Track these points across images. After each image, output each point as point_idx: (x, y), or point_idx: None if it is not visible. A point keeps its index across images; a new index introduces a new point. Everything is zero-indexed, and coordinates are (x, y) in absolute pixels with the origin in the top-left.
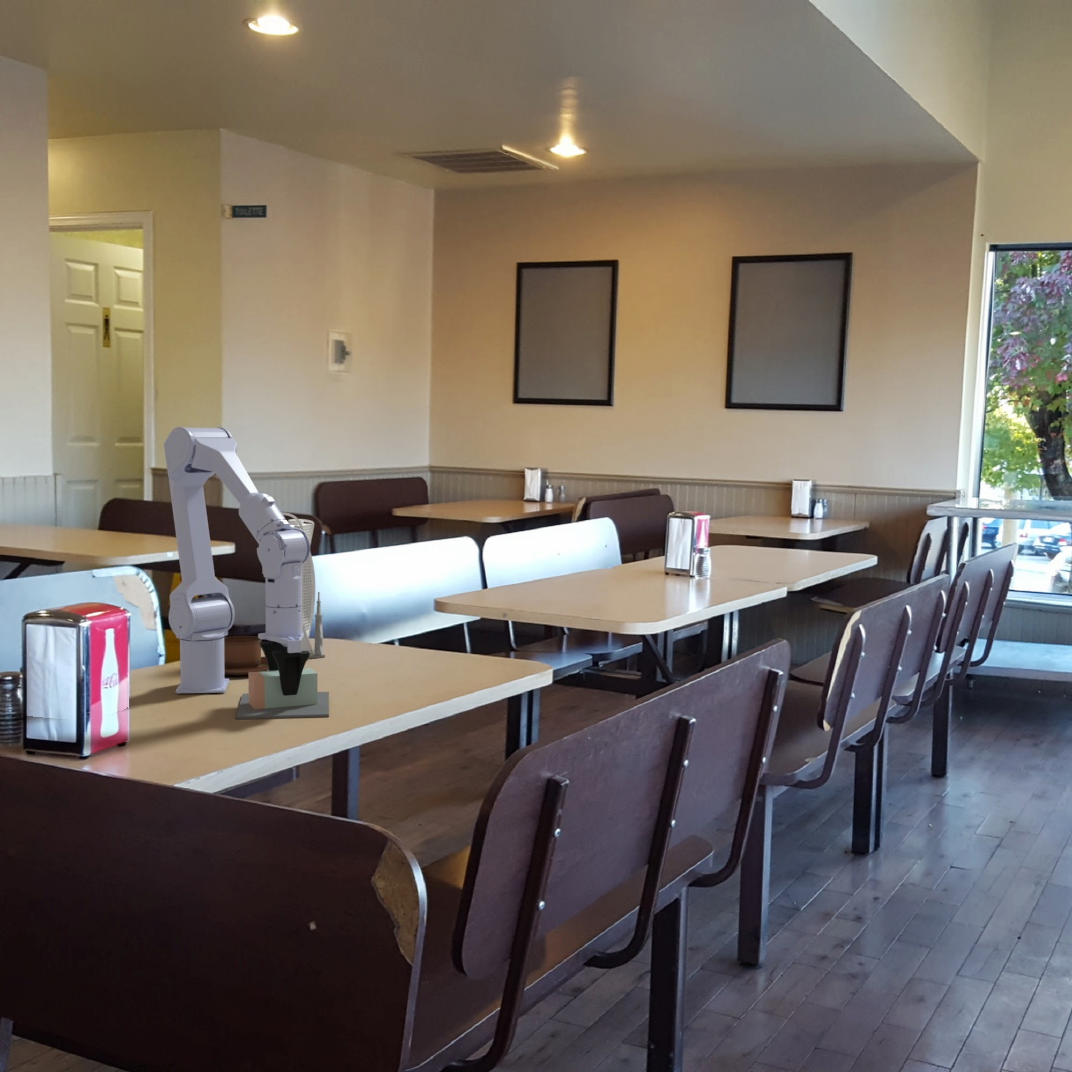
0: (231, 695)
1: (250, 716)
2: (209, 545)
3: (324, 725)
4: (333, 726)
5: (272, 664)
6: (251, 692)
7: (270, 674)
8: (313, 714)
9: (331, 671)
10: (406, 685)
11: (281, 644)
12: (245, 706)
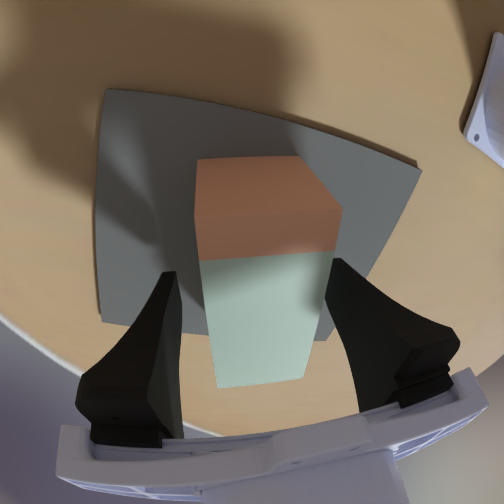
0: (439, 143)
1: (100, 138)
2: None
3: (34, 297)
4: (29, 308)
5: (361, 311)
6: (257, 175)
7: (251, 286)
8: (101, 297)
9: (458, 334)
10: (316, 407)
11: (378, 398)
12: (252, 136)
